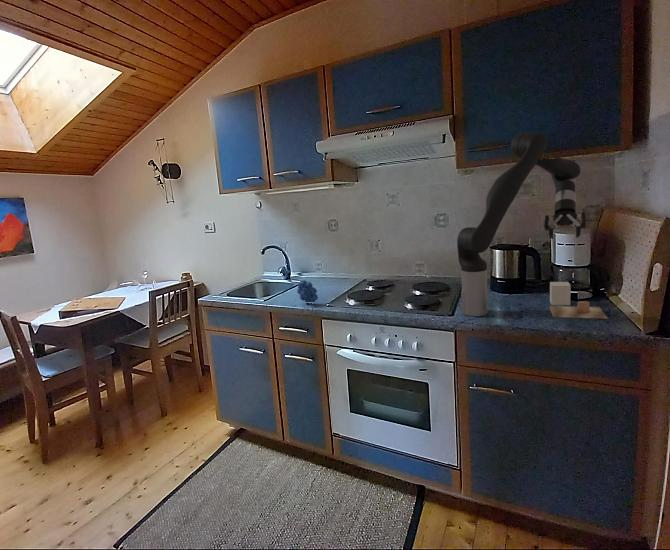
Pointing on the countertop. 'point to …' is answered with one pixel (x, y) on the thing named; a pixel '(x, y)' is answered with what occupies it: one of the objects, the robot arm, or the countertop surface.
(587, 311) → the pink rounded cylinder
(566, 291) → the light grey cuboid block
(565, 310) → the board
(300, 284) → the grapes
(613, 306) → the countertop surface
